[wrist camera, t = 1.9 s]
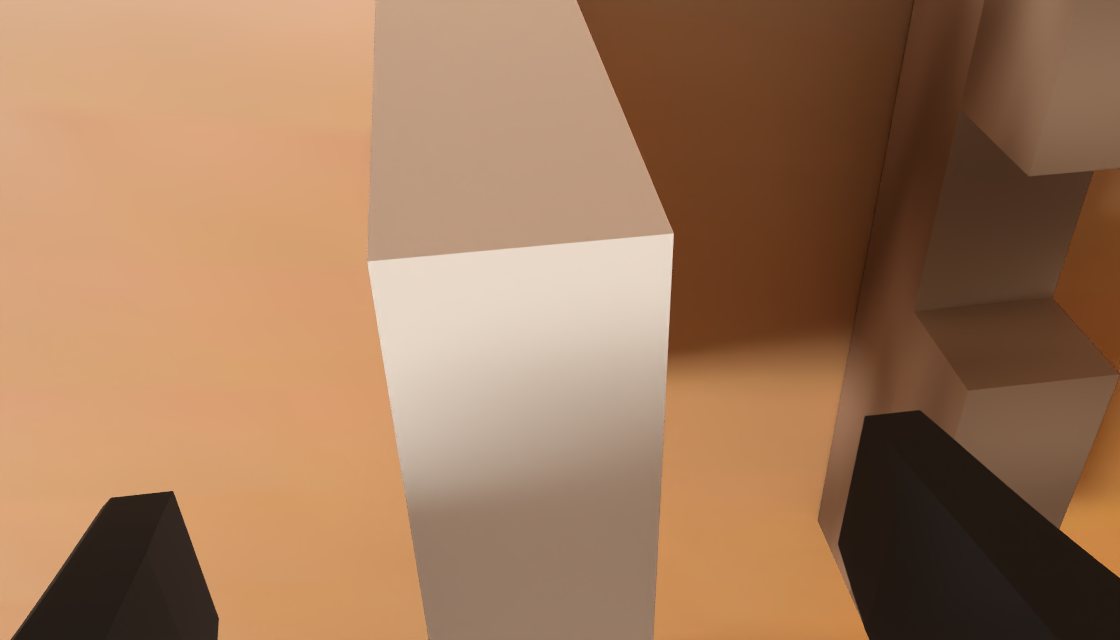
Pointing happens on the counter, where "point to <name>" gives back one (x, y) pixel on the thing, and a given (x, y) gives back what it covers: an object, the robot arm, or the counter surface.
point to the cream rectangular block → (518, 319)
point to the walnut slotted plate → (986, 245)
